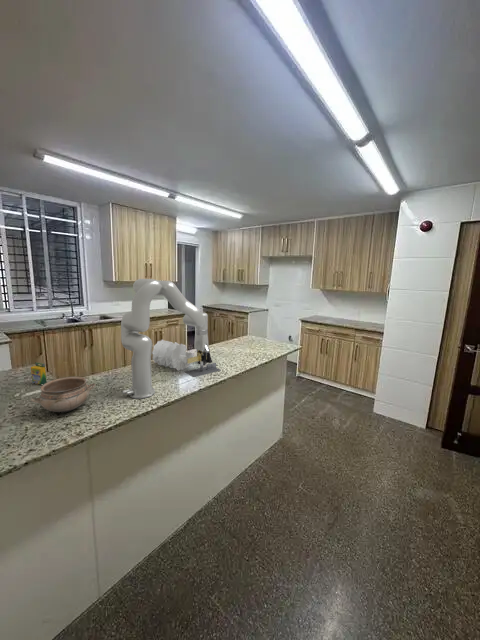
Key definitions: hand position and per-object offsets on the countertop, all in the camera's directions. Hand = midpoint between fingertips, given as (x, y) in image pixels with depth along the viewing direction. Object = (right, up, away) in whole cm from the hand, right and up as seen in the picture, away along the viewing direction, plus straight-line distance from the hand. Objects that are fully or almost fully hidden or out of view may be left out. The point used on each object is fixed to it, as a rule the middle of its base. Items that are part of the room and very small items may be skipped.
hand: (201, 359), depth 173 cm
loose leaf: (-3, -1, -2) cm, 4 cm away
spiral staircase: (-21, -7, +8) cm, 24 cm away
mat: (0, -8, +2) cm, 8 cm away
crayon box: (-87, -10, -23) cm, 91 cm away
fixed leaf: (+4, -7, +4) cm, 9 cm away
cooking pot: (-55, -15, -50) cm, 76 cm away
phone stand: (0, -6, +18) cm, 19 cm away
